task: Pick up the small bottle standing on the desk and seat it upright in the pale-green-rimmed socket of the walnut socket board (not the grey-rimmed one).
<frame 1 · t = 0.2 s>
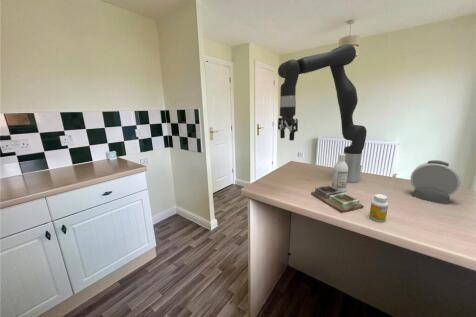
hand: (286, 139, 97), 29 cm above the table, fingers open, 8 cm apart
alarm clock: (429, 198, 92), on the table
socket board: (335, 200, 93), on the table
bath foam: (338, 190, 104), on the table
supplement bottle: (377, 218, 78), on the table
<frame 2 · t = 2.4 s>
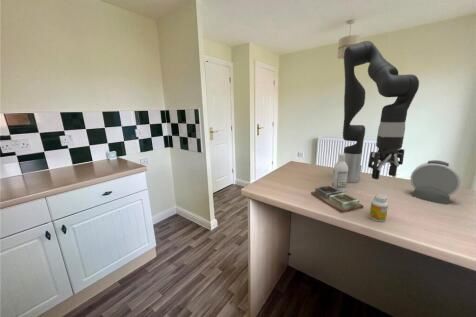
hand: (383, 177, 73), 18 cm above the table, fingers open, 8 cm apart
nothing on the table moved.
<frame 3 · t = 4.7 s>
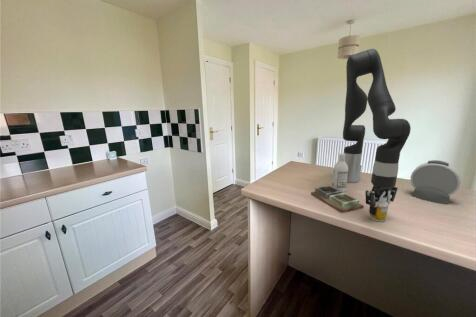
hand: (378, 212, 77), 2 cm above the table, fingers closed on supplement bottle, 5 cm apart
supplement bottle: (377, 218, 78), on the table, touching gripper
everything else where it was.
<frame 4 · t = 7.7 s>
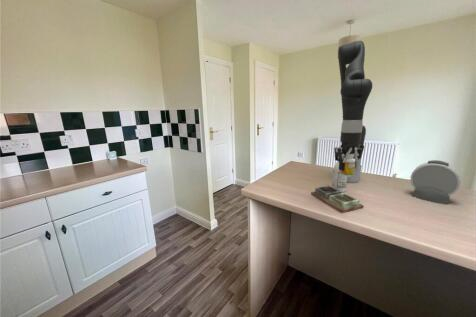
hand: (347, 169, 84), 17 cm above the table, fingers closed on supplement bottle, 5 cm apart
supplement bottle: (346, 175, 85), point 15 cm above the table, touching gripper
everything else where it was.
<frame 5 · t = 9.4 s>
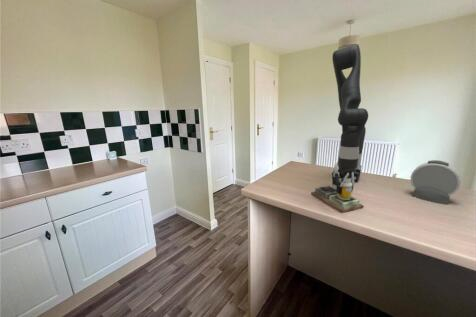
hand: (344, 192, 87), 6 cm above the table, fingers closed on supplement bottle, 5 cm apart
supplement bottle: (343, 197, 88), point 4 cm above the table, touching gripper
everything else where it was.
when the fingers open (5 cm above the table, at t = 10.6 s): supplement bottle drops 2 cm, resting on socket board.
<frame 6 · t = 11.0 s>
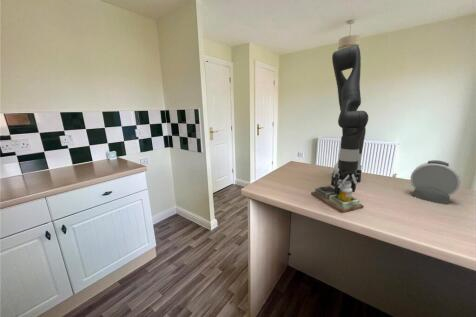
hand: (344, 193, 87), 6 cm above the table, fingers open, 8 cm apart
supplement bottle: (343, 203, 88), point 1 cm above the table, touching socket board
everything else where it was.
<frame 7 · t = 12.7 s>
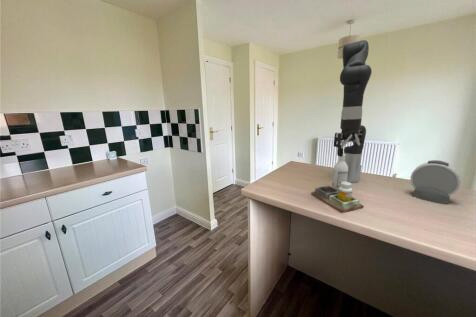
hand: (347, 154, 85), 23 cm above the table, fingers open, 8 cm apart
nothing on the table moved.
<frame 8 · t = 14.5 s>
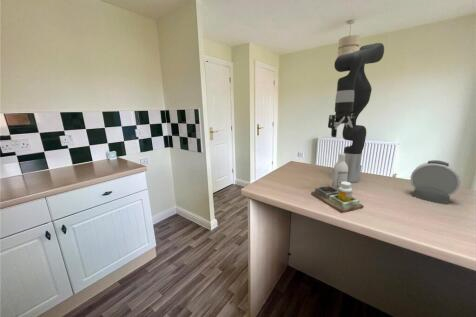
hand: (341, 136, 93), 30 cm above the table, fingers open, 8 cm apart
nothing on the table moved.
at the end: supplement bottle 0.2 cm from the target spot on the socket board, point 1.0 cm above the socket board's base; supplement bottle tilted 0°; the gripper is holding nothing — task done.
